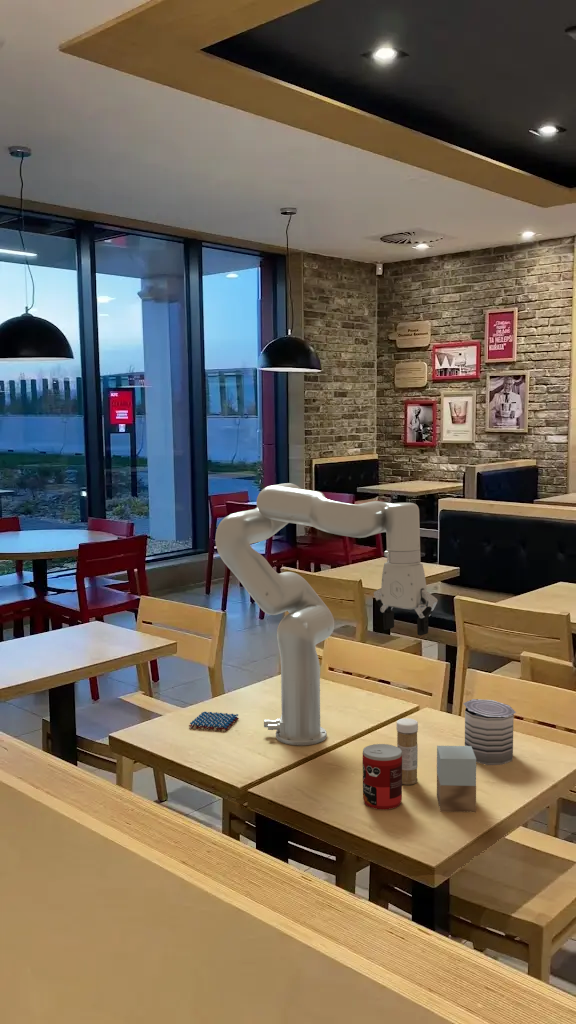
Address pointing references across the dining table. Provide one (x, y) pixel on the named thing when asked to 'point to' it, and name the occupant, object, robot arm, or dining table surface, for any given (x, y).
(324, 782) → the dining table surface
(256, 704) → the dining table surface
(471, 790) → the tower base slab
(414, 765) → the sprinkles bottle
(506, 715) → the can
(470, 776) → the pale grey-blue cube
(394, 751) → the canned food
